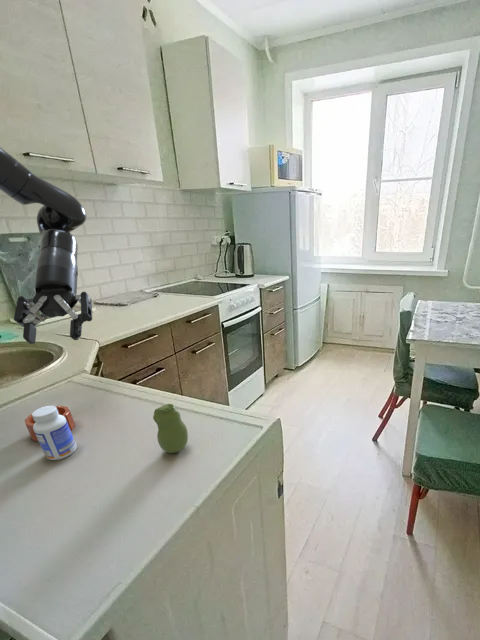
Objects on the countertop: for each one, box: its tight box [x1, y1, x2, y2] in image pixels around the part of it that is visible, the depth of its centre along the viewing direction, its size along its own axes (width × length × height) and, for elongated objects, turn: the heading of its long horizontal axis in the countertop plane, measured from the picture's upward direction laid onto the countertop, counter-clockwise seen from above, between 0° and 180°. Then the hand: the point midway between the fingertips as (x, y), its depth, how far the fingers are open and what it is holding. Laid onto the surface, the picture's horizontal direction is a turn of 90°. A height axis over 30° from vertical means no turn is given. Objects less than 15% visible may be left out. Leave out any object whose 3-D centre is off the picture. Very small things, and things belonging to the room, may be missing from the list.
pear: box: [152, 403, 189, 454], centre depth 67 cm, size 6×5×10 cm
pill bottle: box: [31, 405, 78, 461], centre depth 68 cm, size 5×5×10 cm
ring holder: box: [24, 405, 76, 443], centre depth 77 cm, size 8×8×4 cm
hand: (52, 340), depth 72 cm, fingers open, 8 cm apart
